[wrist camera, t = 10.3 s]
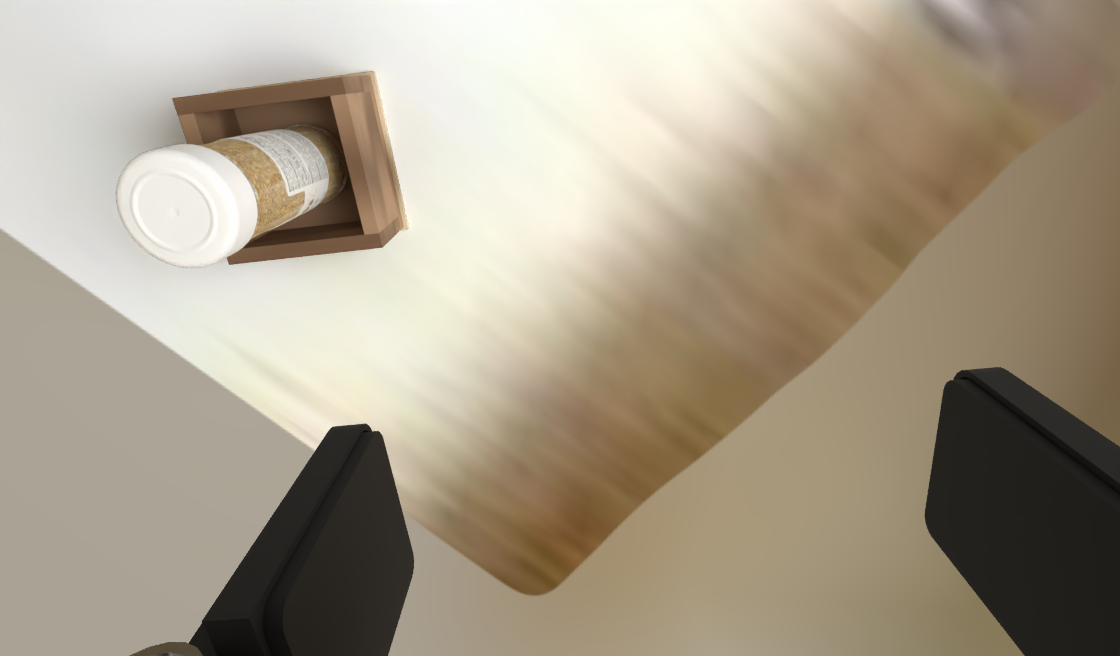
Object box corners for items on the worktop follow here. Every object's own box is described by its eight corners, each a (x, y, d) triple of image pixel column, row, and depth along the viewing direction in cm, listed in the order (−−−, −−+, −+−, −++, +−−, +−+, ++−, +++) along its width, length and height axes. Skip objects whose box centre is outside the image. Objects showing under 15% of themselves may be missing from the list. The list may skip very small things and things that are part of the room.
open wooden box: (220, 91, 35) (166, 94, 30) (374, 71, 34) (344, 71, 29) (267, 244, 38) (226, 268, 33) (408, 228, 38) (386, 250, 33)
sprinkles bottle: (299, 213, 36) (159, 287, 24) (257, 139, 35) (83, 177, 22) (366, 185, 36) (258, 245, 23) (326, 108, 34) (187, 129, 21)
